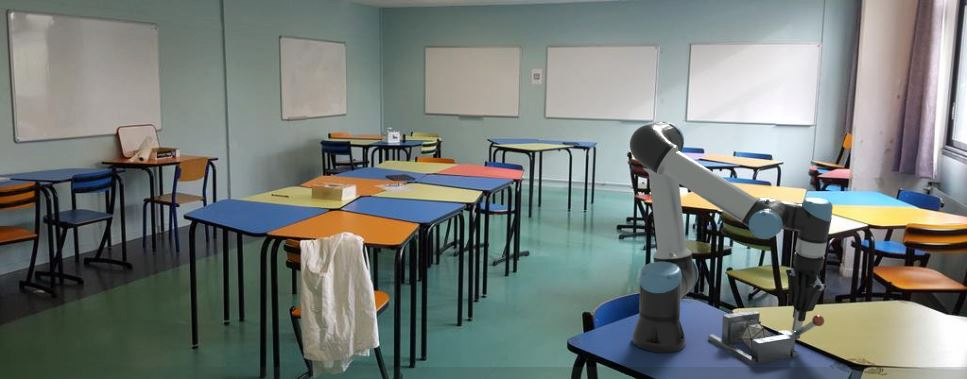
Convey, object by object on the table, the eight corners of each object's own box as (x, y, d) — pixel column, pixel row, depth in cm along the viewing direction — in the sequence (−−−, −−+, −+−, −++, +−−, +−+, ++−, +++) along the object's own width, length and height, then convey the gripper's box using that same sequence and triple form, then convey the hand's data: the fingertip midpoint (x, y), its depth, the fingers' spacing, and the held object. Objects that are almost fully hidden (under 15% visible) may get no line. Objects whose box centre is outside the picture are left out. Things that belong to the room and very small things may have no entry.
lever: (785, 332, 200) (814, 314, 189) (794, 331, 201) (823, 312, 190) (790, 342, 199) (819, 324, 188) (798, 341, 200) (828, 322, 189)
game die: (761, 364, 198) (778, 346, 191) (732, 352, 199) (748, 334, 192) (762, 339, 205) (779, 321, 198) (735, 328, 205) (750, 309, 198)
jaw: (721, 342, 205) (722, 314, 203) (752, 337, 208) (753, 310, 206) (727, 345, 202) (729, 318, 200) (759, 340, 205) (760, 313, 204)
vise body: (708, 339, 207) (709, 320, 206) (756, 331, 212) (757, 313, 211) (750, 364, 189) (752, 344, 188) (802, 355, 195) (803, 335, 194)
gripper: (838, 260, 187) (823, 338, 194) (803, 244, 198) (791, 318, 205) (816, 263, 185) (802, 342, 191) (782, 246, 196) (770, 321, 203)
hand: (796, 329), depth 198 cm, fingers closed
